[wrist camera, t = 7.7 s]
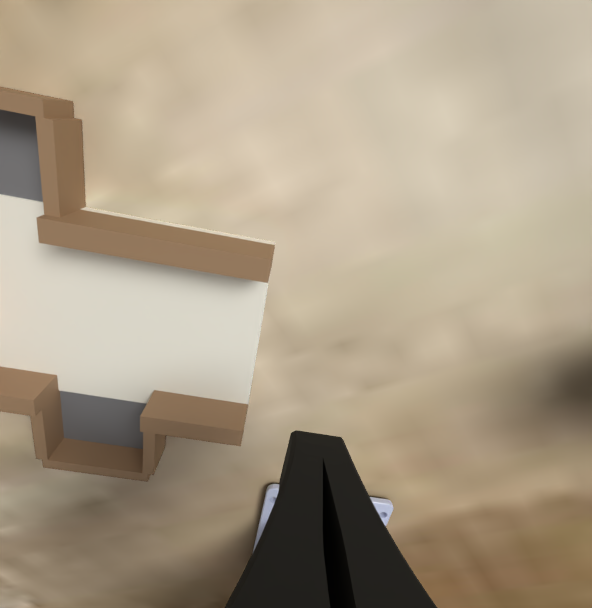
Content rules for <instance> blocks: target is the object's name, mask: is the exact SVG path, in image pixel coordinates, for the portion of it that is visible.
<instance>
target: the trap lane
mask: <svg viewBox="0 0 592 608" xmlns="http://www.w3.org/2000/svg"><path fill="white" fill-rule="evenodd" d="M275 243H276V242H274V241H268V240H263V239H257V238H252V237H247V236H241V235H236V234H230V233H225V232H219V231H214V230H208V229H203V228H197V227H192V226H187V225H181V224H176V223H170V222H165V221H159V220H154V219H148V218H143V217H138V216H132V215H127V214H121V213H116V212H110V211H105V210H99V209H94V208H89V207H86V205H85V183H84V161H83V139H82V120H81V119H76V118H74V111H73V101H68V100H63V99H59V98H54V97H49V96H44V95H39V94H34V93H29V92H24V91H19V90H14V89H9V88H4V87H0V411H2V412H9V413H16V414H22V415H29V416H30V417H31V424H32V432H33V439H34V446H35V454H36V459H42V463H43V467H45V468H52V469H59V470H67V471H74V472H81V473H89V474H96V475H103V476H111V477H118V478H125V479H133V480H140V481H147V482H148V480H149V478H150V475H151V474H152V475H154V473H155V470H156V468H157V465H158V463H159V460H160V458H161V456H162V453H163V451H164V448H165V440H166V435H167V436H174V437H181V438H188V439H195V440H201V441H208V442H215V443H222V444H229V445H236V446H241V441H242V436H243V430H244V425H245V419H246V414H247V408H248V402H249V396H250V390H251V384H252V379H253V373H254V367H255V361H256V355H257V349H258V343H259V337H260V331H261V325H262V319H263V314H264V308H265V302H266V296H267V290H268V284H269V278H270V272H271V266H272V260H273V254H274V249H275Z"/></svg>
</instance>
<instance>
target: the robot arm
mask: <svg viewBox="0 0 592 608" xmlns="http://www.w3.org/2000/svg"><path fill="white" fill-rule="evenodd" d="M392 511H393V505H392V502H391V501H390V500H387V499H381V498H374V497H369V495H368V493H367V491H366V489H365V487H364V485H363V483H362V481H361V479H360V476H359V474H358V472H357V470H356V468H355V466H354V464H353V461H352V459H351V457H350V455H349V452H348V450H347V448H346V445H345V443H344V441H343V439H342V438H341V437H336V436H329V435H323V434H316V433H309V432H303V431H294V432H292V433H291V436H290V440H289V444H288V448H287V452H286V457H285V461H284V465H283V469H282V473H281V478H280V483H279V484H271V485H269V486H268V487H267V490H266V494H265V499H264V503H263V508H262V512H261V517H260V522H259V526H258V531H257V535H256V540H255V544H254V549H253V553H252V556H251V558H250V560H249V562H248V564H247V566H246V568H245V570H244V572H243V574H242V576H241V578H240V580H239V582H238V584H237V586H236V587H235V589H234V591H233V593H232V595H231V597H230V599H229V601H228V603H227V604H226V606H225V608H437V607H436V605H435V604H434V603H433V601H432V600H431V598H430V597H429V595H428V594H427V592H426V591H425V589H424V588H423V586H422V585H421V583H420V582H419V580H418V579H417V578H416V576H415V574H414V573H413V571H412V570H411V568H410V567H409V565H408V563H407V562H406V560H405V559H404V557H403V555H402V554H401V552H400V550H399V549H398V547H397V545H396V544H395V542H394V540H393V539H392V537H391V535H390V534H389V532H388V530H387V528H386V525H387V522H388V520H389V518H390V516H391V513H392Z"/></svg>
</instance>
